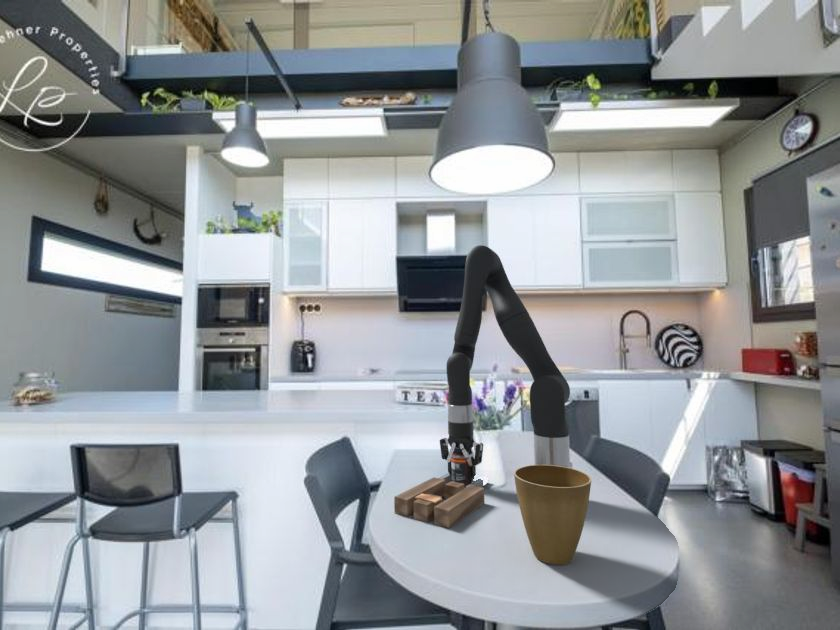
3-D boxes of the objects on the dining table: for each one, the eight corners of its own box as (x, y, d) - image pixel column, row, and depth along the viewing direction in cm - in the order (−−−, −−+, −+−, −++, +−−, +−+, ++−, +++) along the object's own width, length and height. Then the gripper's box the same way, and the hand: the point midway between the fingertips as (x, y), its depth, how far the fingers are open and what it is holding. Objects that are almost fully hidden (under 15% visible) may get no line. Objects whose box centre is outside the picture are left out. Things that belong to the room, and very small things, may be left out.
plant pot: (580, 585, 76) (577, 492, 77) (503, 560, 85) (501, 477, 86) (603, 551, 88) (600, 471, 88) (533, 532, 97) (531, 459, 97)
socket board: (484, 503, 114) (484, 486, 114) (448, 528, 99) (448, 509, 99) (433, 491, 123) (433, 476, 123) (394, 512, 108) (394, 495, 109)
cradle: (489, 483, 130) (489, 476, 130) (469, 495, 120) (469, 488, 120) (454, 476, 136) (454, 469, 137) (433, 487, 127) (433, 480, 127)
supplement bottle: (470, 481, 131) (469, 444, 132) (473, 488, 125) (472, 448, 126) (450, 482, 131) (450, 444, 132) (452, 489, 125) (452, 449, 126)
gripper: (487, 419, 128) (489, 477, 127) (446, 415, 136) (447, 469, 135) (476, 424, 122) (477, 484, 121) (433, 419, 130) (434, 475, 129)
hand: (461, 476), depth 128 cm, fingers closed on supplement bottle, 6 cm apart
